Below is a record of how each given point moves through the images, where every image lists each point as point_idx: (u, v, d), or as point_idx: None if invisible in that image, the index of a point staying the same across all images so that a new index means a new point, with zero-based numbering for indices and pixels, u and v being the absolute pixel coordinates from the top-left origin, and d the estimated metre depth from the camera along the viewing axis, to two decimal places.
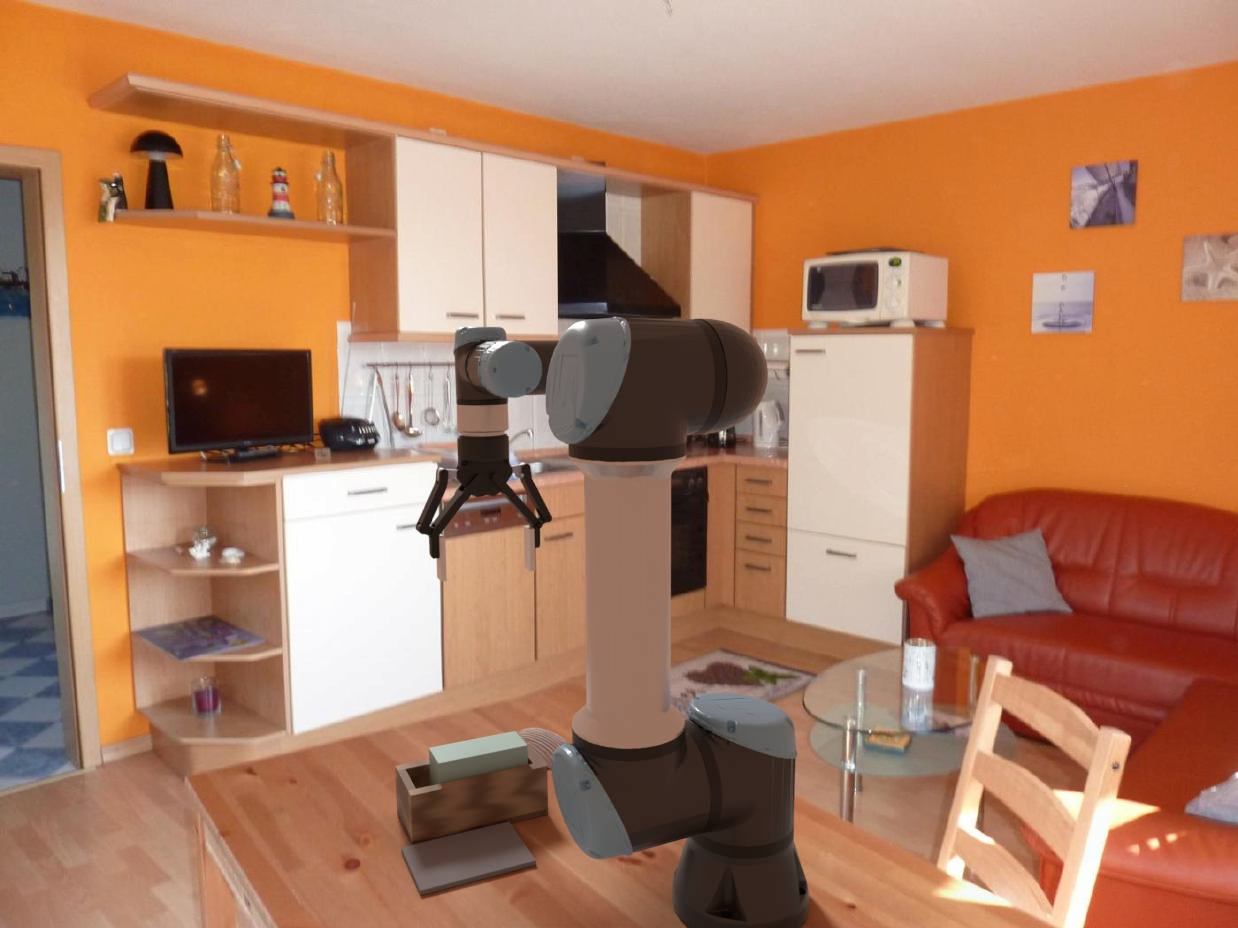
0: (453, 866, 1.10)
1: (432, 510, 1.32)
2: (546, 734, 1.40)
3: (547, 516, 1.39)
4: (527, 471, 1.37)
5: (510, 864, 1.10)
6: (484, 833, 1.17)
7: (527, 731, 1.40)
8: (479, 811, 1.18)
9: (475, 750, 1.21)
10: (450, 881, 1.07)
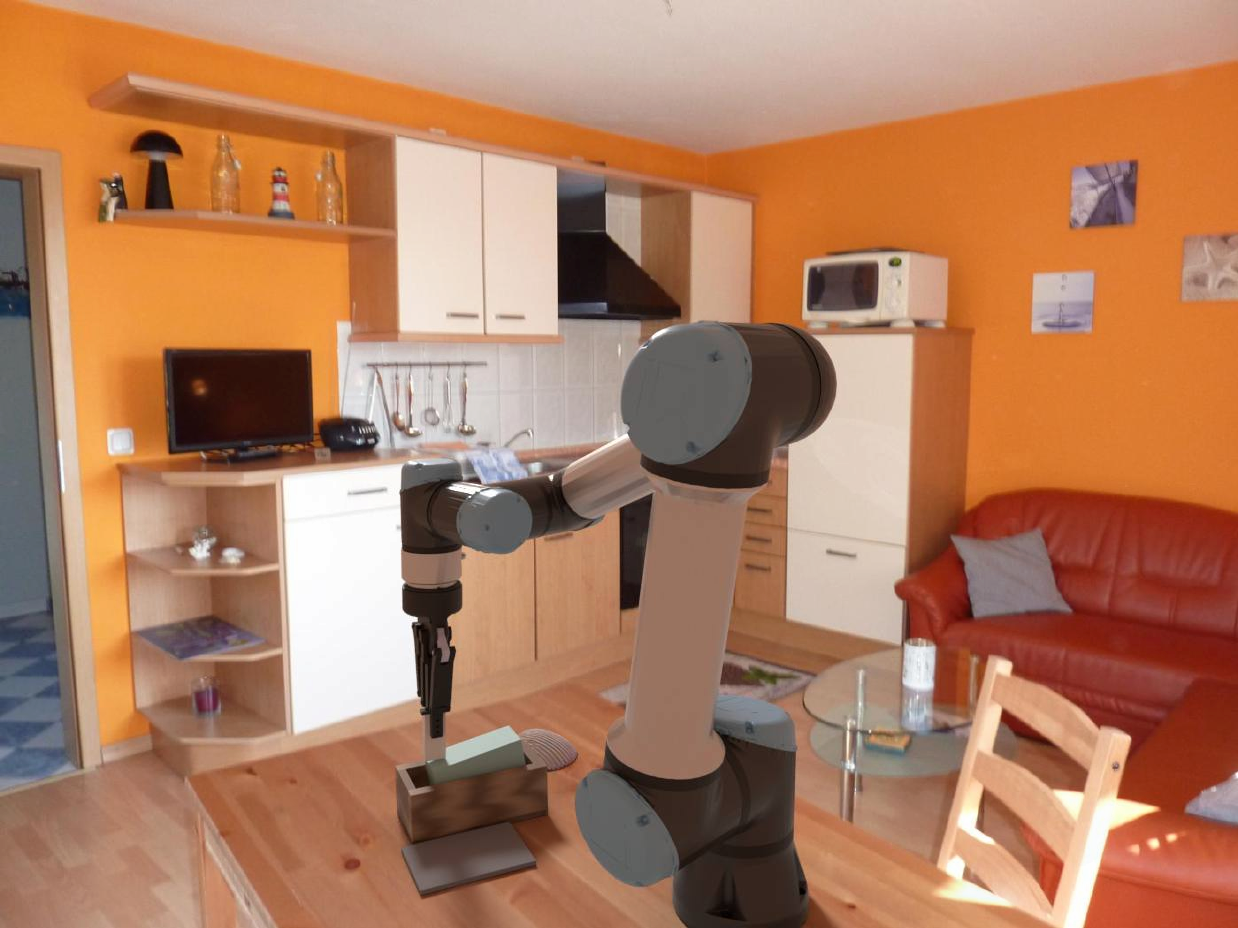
0: (453, 866, 1.10)
1: (416, 669, 1.21)
2: (549, 735, 1.39)
3: (430, 707, 1.15)
4: (434, 656, 1.12)
5: (510, 864, 1.10)
6: (484, 833, 1.17)
7: (530, 732, 1.40)
8: (479, 811, 1.18)
9: (469, 752, 1.20)
10: (450, 881, 1.07)
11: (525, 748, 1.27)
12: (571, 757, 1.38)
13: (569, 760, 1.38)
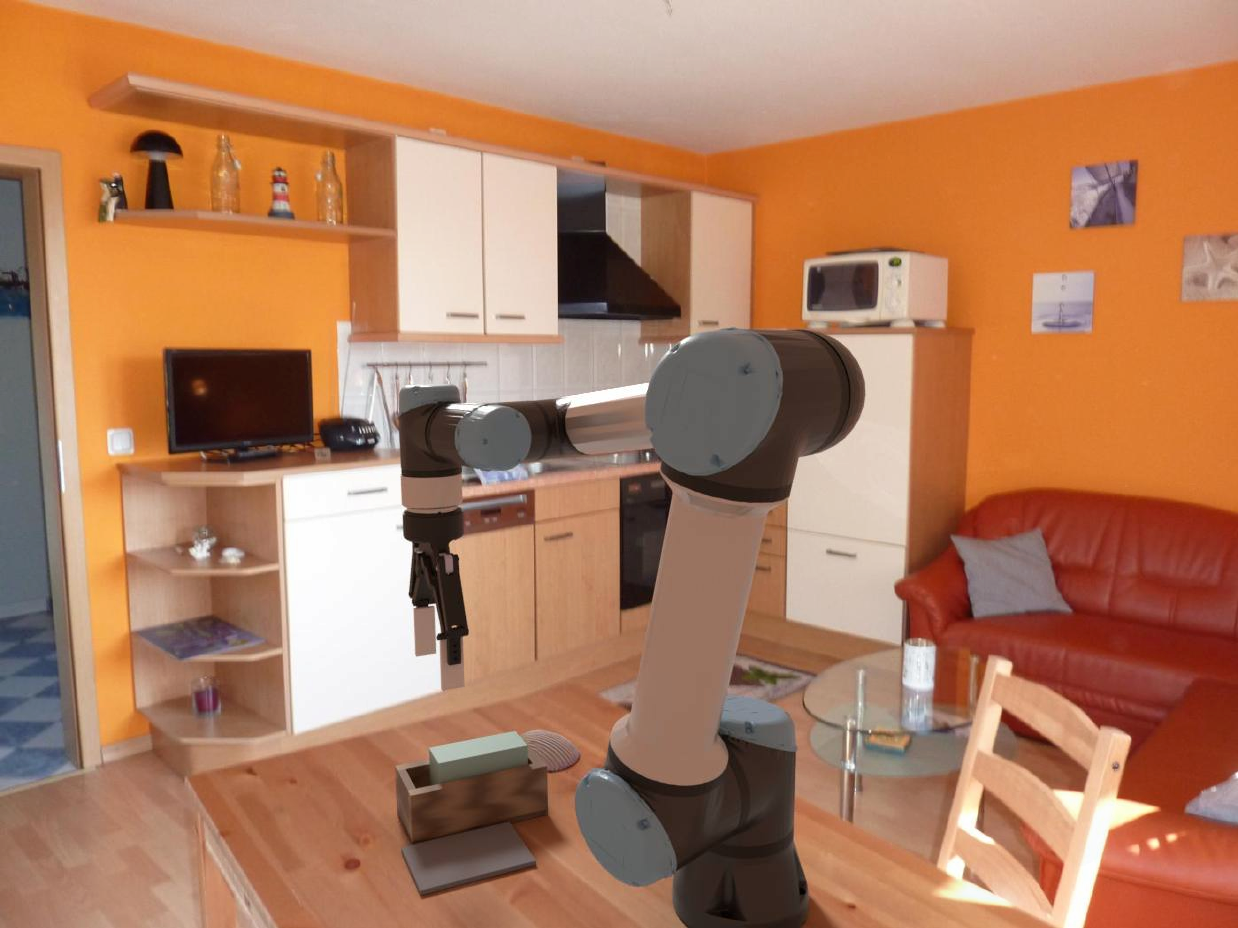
0: (453, 866, 1.10)
1: (411, 576, 1.24)
2: (552, 736, 1.39)
3: (446, 630, 1.08)
4: (438, 565, 1.10)
5: (510, 864, 1.10)
6: (484, 833, 1.17)
7: (533, 733, 1.39)
8: (479, 811, 1.18)
9: (475, 750, 1.21)
10: (450, 881, 1.07)
11: None
12: (574, 758, 1.38)
13: (572, 761, 1.37)
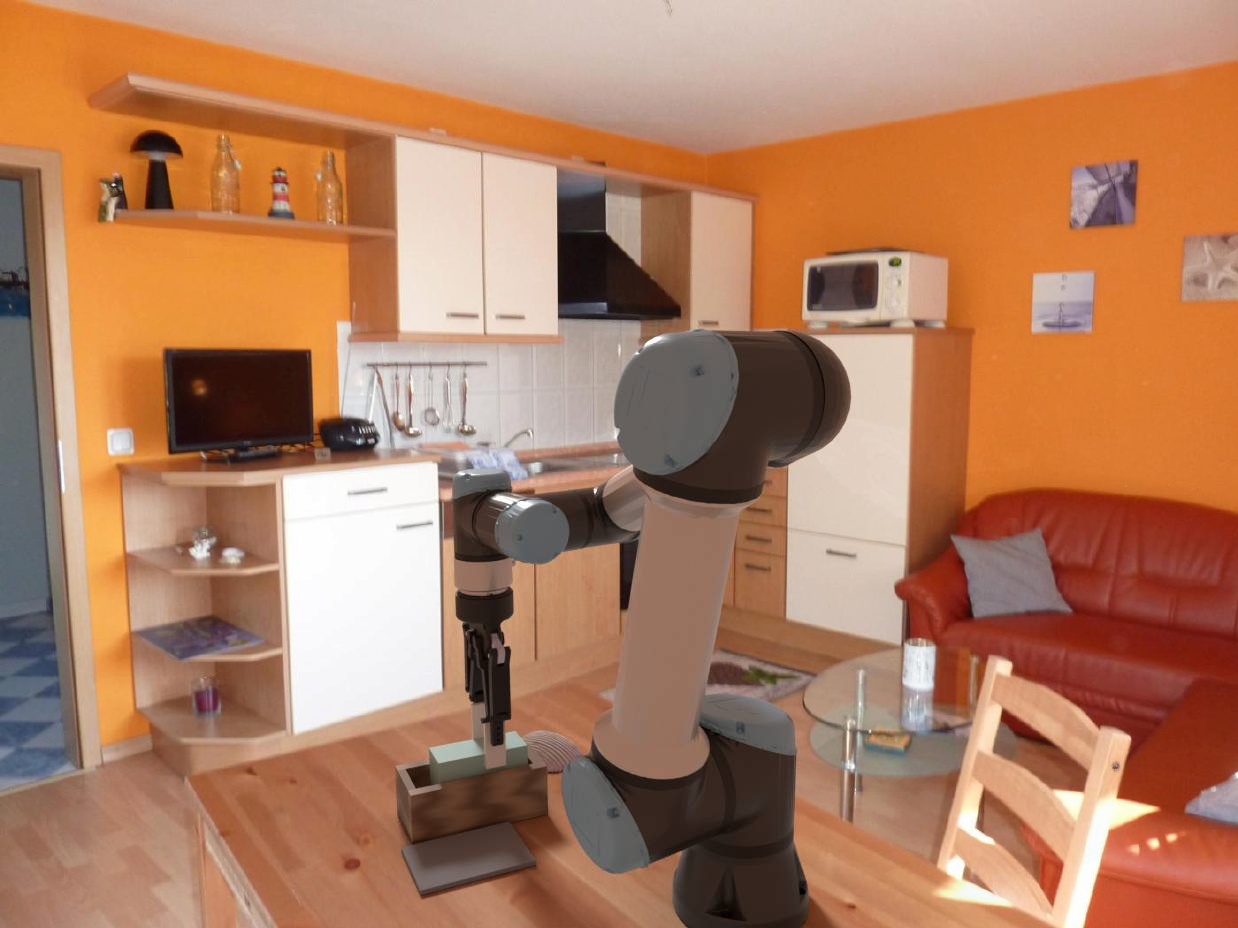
0: (453, 866, 1.10)
1: (466, 667, 1.26)
2: (555, 737, 1.39)
3: (491, 715, 1.16)
4: (490, 657, 1.15)
5: (510, 864, 1.10)
6: (484, 833, 1.17)
7: (535, 734, 1.39)
8: (479, 811, 1.18)
9: (475, 750, 1.21)
10: (450, 881, 1.07)
11: None
12: None
13: None
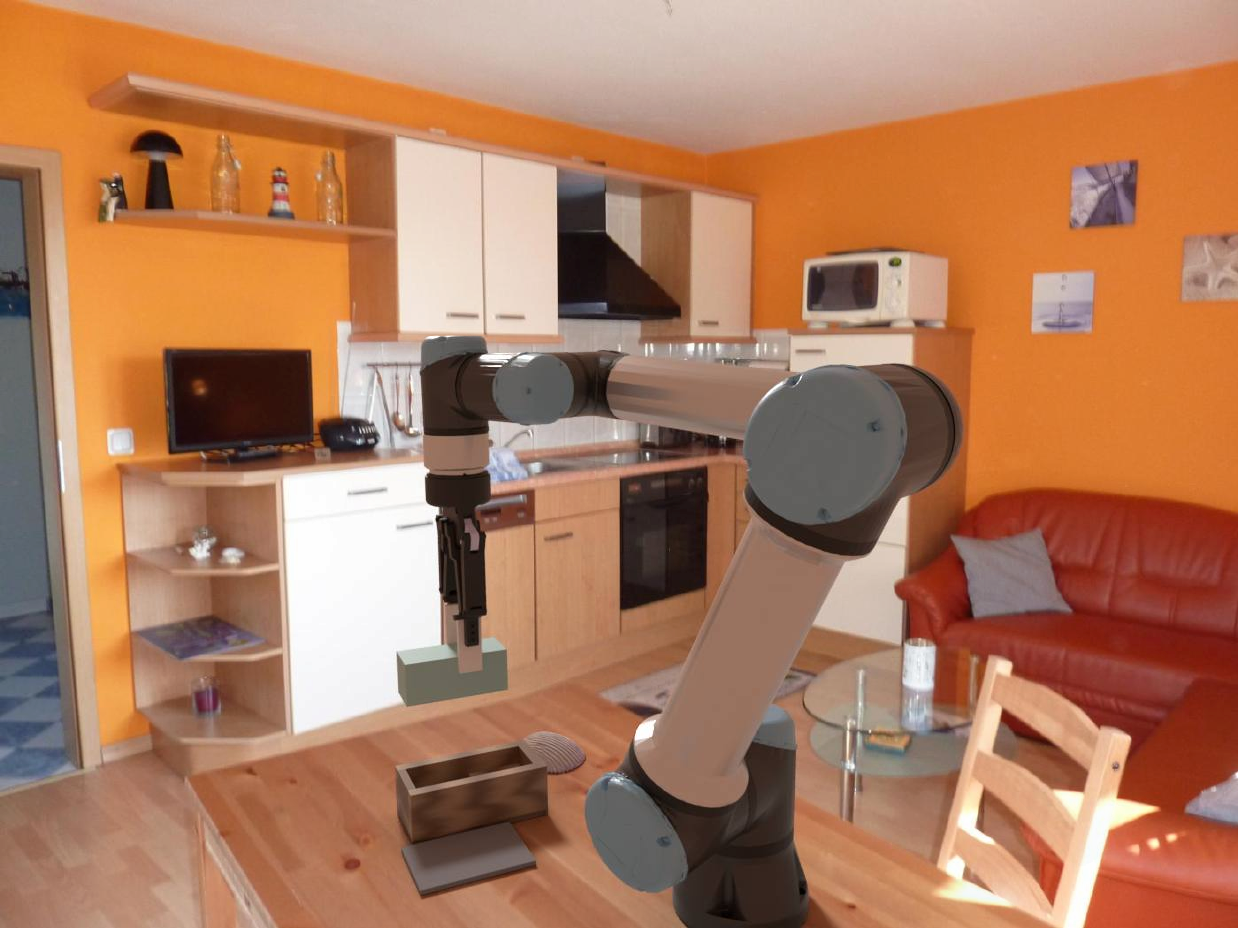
0: (453, 866, 1.10)
1: (439, 564, 1.13)
2: (557, 738, 1.39)
3: (464, 609, 1.03)
4: (462, 543, 1.02)
5: (510, 864, 1.10)
6: (484, 833, 1.17)
7: (538, 735, 1.39)
8: (479, 811, 1.18)
9: (448, 654, 1.08)
10: (450, 881, 1.07)
11: (525, 748, 1.27)
12: (580, 759, 1.37)
13: (578, 762, 1.37)
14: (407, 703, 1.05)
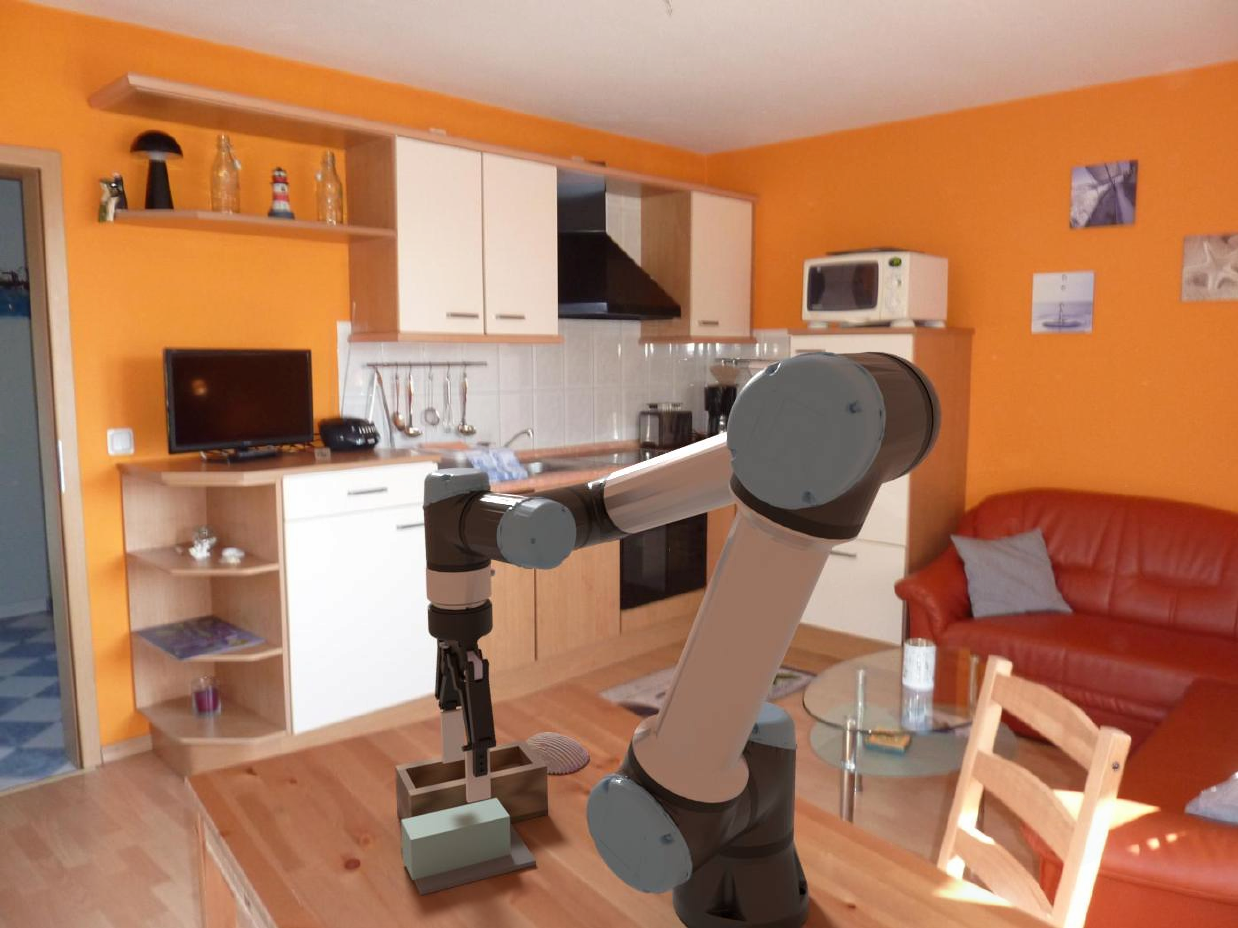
0: None
1: (437, 675, 1.16)
2: (561, 738, 1.38)
3: (472, 742, 1.02)
4: (466, 672, 1.03)
5: (510, 864, 1.10)
6: None
7: (542, 736, 1.38)
8: None
9: (452, 823, 1.10)
10: (450, 881, 1.07)
11: (525, 748, 1.27)
12: (584, 760, 1.37)
13: (582, 763, 1.37)
14: (413, 876, 1.07)
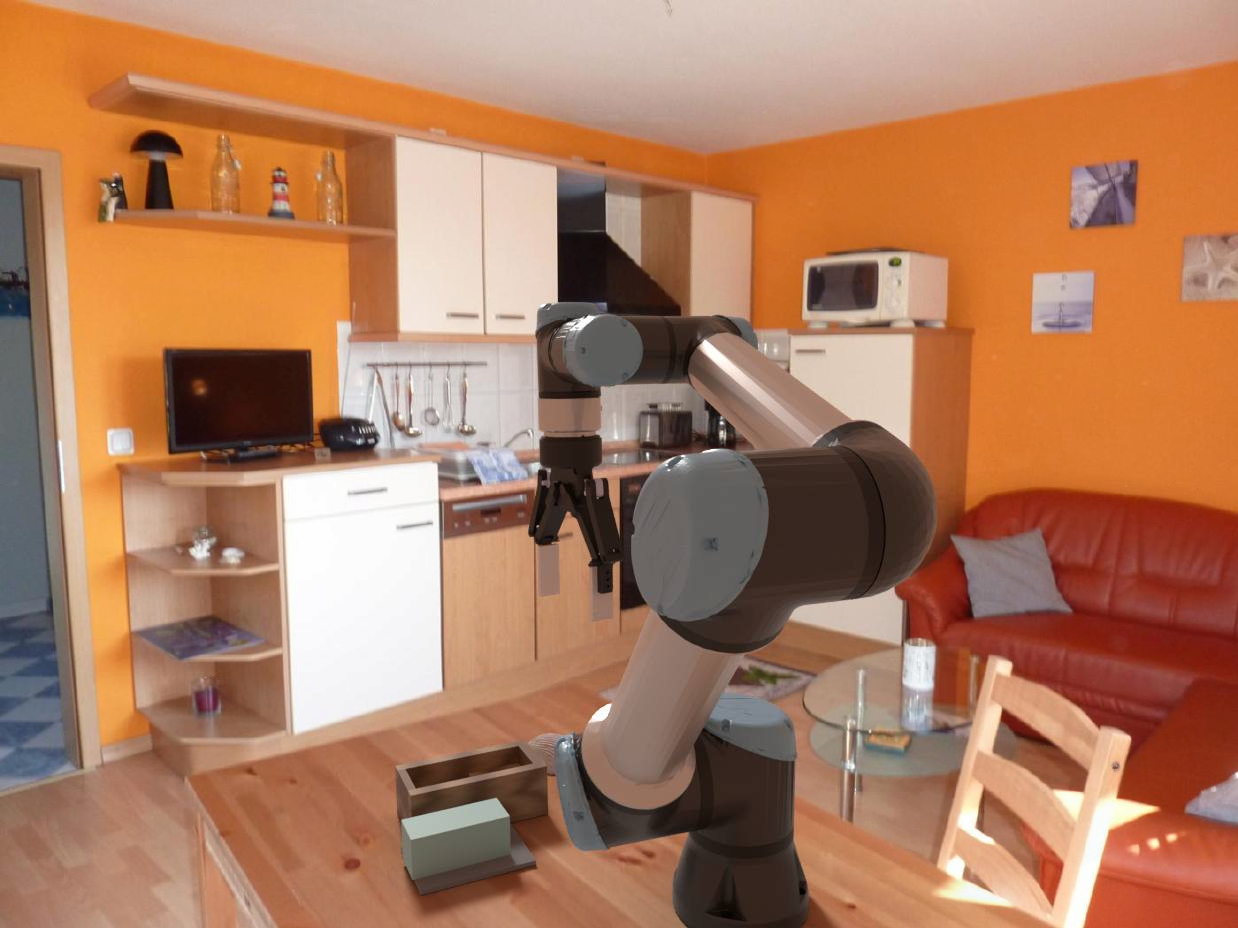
0: None
1: (534, 513, 1.18)
2: None
3: (602, 555, 1.03)
4: (588, 489, 1.05)
5: (510, 864, 1.10)
6: None
7: (545, 737, 1.38)
8: None
9: (452, 823, 1.10)
10: (450, 881, 1.07)
11: (525, 748, 1.27)
12: None
13: None
14: (413, 876, 1.07)
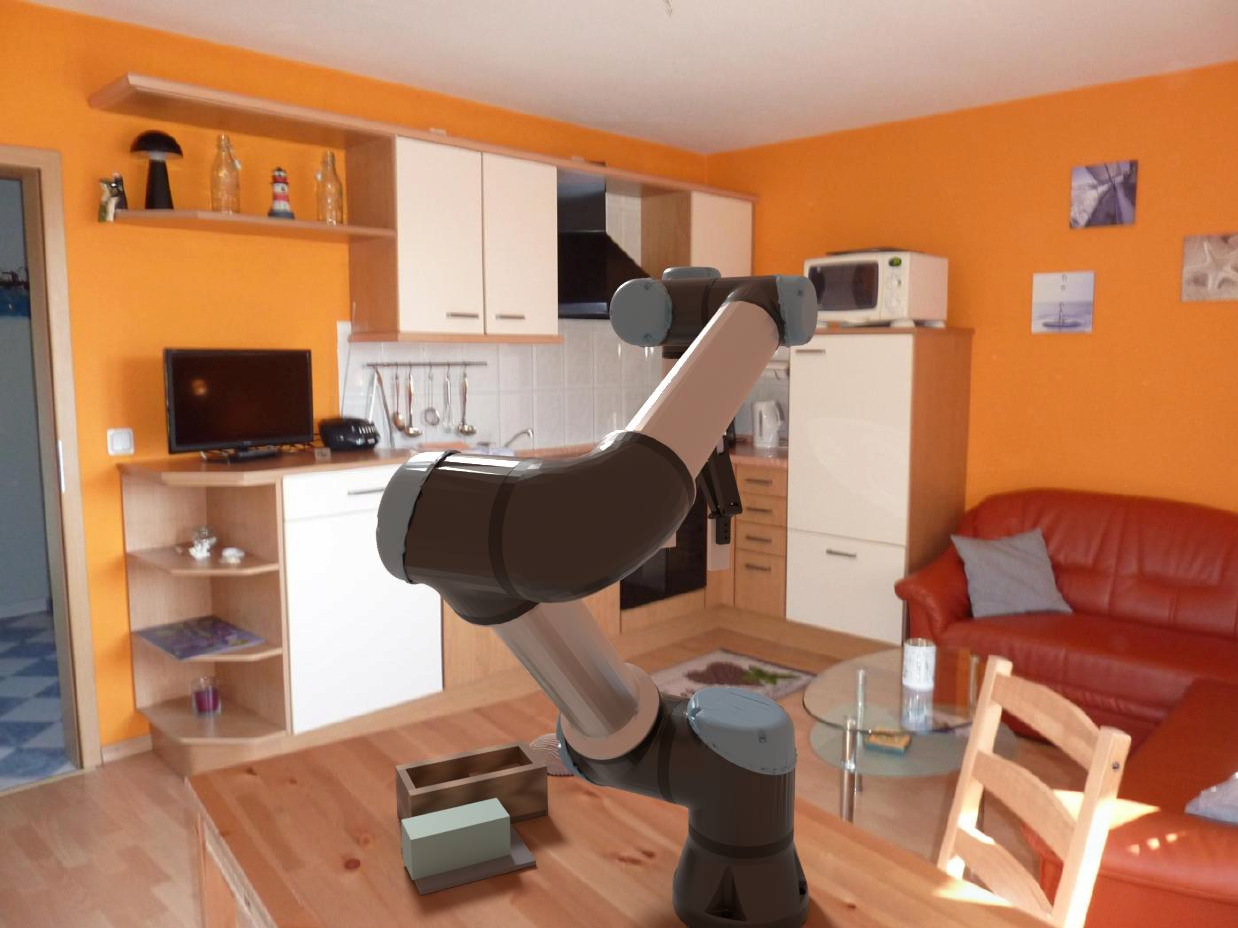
0: None
1: None
2: None
3: (721, 507, 1.09)
4: None
5: (510, 864, 1.10)
6: None
7: (547, 737, 1.38)
8: None
9: (452, 823, 1.10)
10: (450, 881, 1.07)
11: (525, 748, 1.27)
12: None
13: None
14: (413, 876, 1.07)
